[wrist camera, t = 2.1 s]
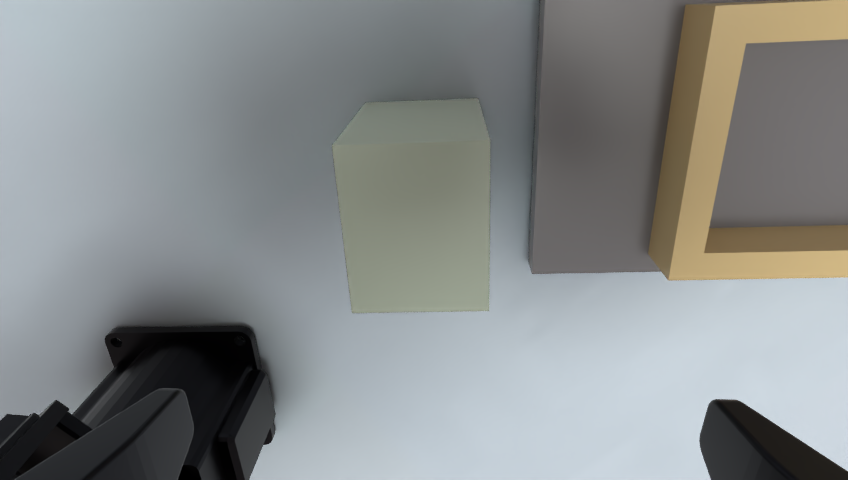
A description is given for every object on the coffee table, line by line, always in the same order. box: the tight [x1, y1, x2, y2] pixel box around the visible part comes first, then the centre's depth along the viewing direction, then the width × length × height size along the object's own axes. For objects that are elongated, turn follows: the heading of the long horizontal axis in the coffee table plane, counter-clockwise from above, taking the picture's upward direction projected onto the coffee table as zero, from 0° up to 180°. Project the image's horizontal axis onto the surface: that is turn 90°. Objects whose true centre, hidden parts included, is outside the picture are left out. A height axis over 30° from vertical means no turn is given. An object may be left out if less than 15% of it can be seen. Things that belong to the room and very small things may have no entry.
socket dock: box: [529, 0, 848, 280], centre depth 17 cm, size 15×12×3 cm
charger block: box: [332, 98, 490, 313], centre depth 17 cm, size 4×5×6 cm
